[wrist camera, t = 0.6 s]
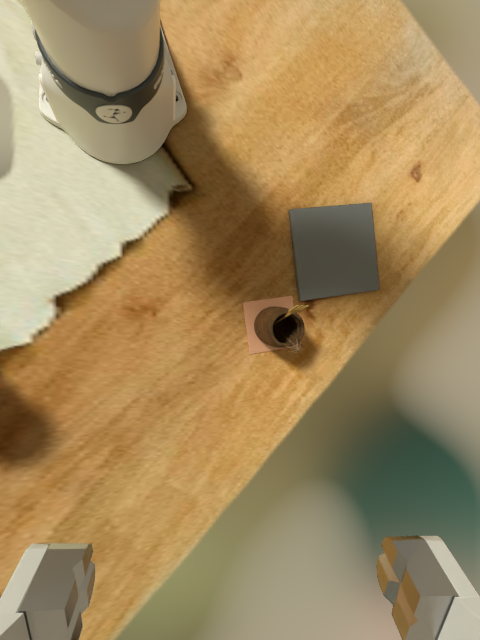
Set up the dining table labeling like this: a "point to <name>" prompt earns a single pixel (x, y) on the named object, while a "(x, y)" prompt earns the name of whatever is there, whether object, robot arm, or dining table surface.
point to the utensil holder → (280, 326)
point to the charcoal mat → (334, 250)
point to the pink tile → (250, 315)
